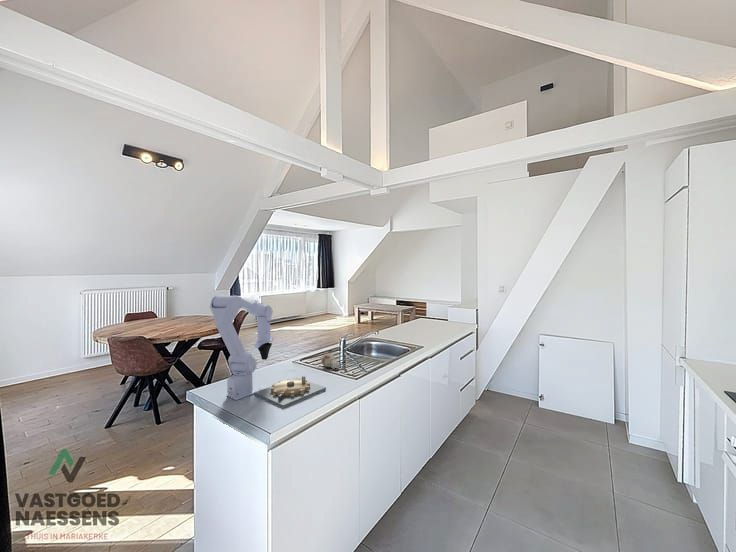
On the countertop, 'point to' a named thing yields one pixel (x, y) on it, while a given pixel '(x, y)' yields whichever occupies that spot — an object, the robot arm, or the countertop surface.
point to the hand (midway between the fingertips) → (264, 359)
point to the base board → (288, 400)
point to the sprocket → (290, 387)
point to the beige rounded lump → (329, 361)
